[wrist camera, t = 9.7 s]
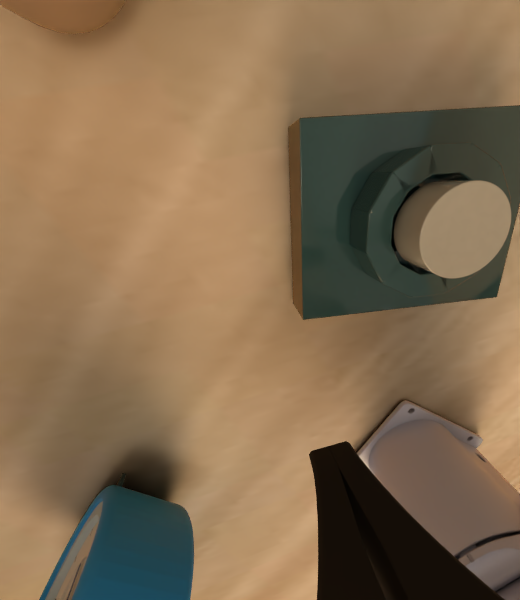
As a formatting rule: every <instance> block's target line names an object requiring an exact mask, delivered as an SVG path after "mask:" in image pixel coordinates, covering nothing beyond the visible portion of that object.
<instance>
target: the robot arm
mask: <svg viewBox="0 0 520 600" xmlns="http://www.w3.org/2000/svg"><path fill="white" fill-rule="evenodd" d="M409 409H410V410H409ZM482 441H483V439H482V438H481V437H480V436H479V435H478V434H476V433H473V432H471V431H469V430H467V429H465V428H463V427H461V426H459V425H457V424H455V423H453V422H451V421H449V420H447V419H445V418H443V417H441V416H438V415H436V414H434V413H432V412H430V411H428V410H426V409H424V408H422V407H420V406H418V405H416V404H414V403H412V402H410V401H407V400H406V401H402V402H401V403H400V404H399V405H398V406H397V407H396V408H395V410H394V411H393V412H392V413H391V414H390V415H389V416H388V418H387V419H386V420H385V421H384V422H383V423H382V425H381V426H380V427H379V428H378V429H377V430H376V431H375V433H374V434H373V435H372V436H371V437H370V438H369V440H368V441H367V442H366V443H365V444H364V445H363V446H362V448H361V449H360V450H359V451H358V452H357V453H356V452H355V450H354V449H353V448H352V446H351V445H350V443H348V442H346V441H345V442H342V443H338V444H335V445H331V446H328V447H324V448H321V449H317V450H313V451H311V452H310V454H309V456H310V460H311V464H312V468H313V473H314V479H315V487H316V497H317V513H318V590H317V600H520V494H519V493H518V492H517V491H516V490H515V489H514V488H513V487H512V485H511V484H510V483H509V482H508V481H507V480H506V479H505V478H504V477H503V476H502V475H501V474H500V473H499V472H498V471H497V470H496V469H495V468H494V467H493V466H492V464H491V463H490V462H489V461H488V460H487V459H486V458H485V457H484V456H483V455H482V454H481V453H480V452H479V451H478V450H477V449H476V448H477V447H478V446H479V445H480V444H481V443H482Z"/></svg>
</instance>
